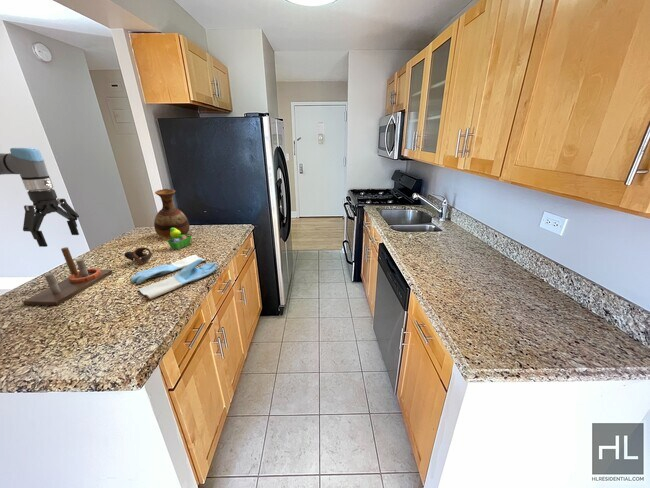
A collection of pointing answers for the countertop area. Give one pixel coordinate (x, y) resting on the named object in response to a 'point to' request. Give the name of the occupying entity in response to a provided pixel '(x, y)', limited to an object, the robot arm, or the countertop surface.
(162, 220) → the brown pottery vase
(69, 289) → the rack
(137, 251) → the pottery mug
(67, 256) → the ring
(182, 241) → the fruit basket
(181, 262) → the rubber gloves
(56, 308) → the countertop surface
